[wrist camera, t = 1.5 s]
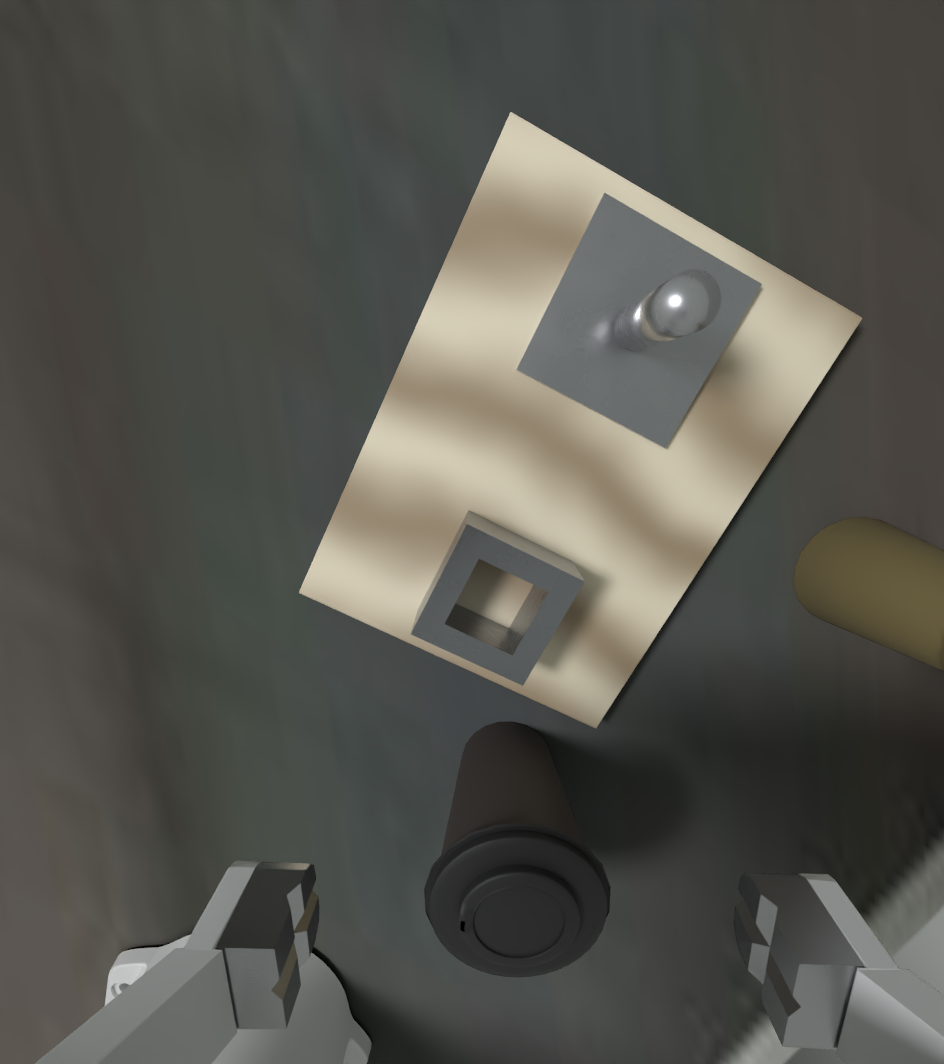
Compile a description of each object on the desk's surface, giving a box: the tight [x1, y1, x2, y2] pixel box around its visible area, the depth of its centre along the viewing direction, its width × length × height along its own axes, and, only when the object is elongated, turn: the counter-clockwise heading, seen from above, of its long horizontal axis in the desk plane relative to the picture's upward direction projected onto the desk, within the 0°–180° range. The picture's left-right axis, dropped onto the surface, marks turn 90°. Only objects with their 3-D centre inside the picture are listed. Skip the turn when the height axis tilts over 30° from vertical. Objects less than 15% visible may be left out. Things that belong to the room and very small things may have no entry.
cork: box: [794, 517, 944, 671], centre depth 22 cm, size 6×6×11 cm
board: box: [299, 112, 862, 728], centre depth 25 cm, size 24×18×1 cm
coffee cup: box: [424, 722, 611, 977], centre depth 25 cm, size 8×8×10 cm
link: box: [411, 510, 585, 686], centre depth 25 cm, size 6×6×3 cm
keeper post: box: [516, 193, 762, 448], centre depth 20 cm, size 8×8×6 cm
